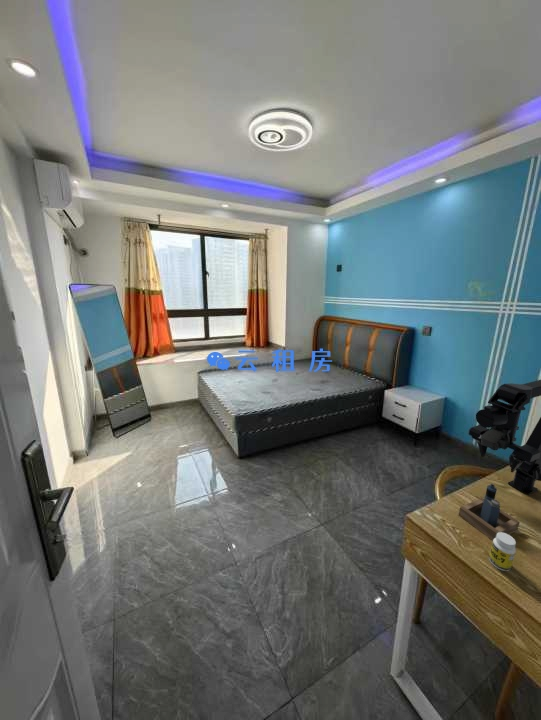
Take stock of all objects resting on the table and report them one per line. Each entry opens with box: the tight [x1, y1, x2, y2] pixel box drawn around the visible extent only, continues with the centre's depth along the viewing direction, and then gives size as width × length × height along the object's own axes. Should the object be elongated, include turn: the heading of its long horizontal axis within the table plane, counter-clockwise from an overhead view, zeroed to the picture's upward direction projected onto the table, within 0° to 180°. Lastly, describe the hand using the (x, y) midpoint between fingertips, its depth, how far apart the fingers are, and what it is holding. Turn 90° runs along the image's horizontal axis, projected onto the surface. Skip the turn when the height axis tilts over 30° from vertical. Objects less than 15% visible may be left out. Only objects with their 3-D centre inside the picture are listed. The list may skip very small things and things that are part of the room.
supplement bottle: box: [488, 532, 517, 572], centre depth 77 cm, size 5×5×8 cm
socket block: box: [458, 497, 520, 541], centre depth 90 cm, size 11×11×3 cm
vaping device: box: [481, 483, 501, 527], centre depth 89 cm, size 3×5×12 cm, turn 174°
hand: (496, 464), depth 99 cm, fingers open, 9 cm apart
